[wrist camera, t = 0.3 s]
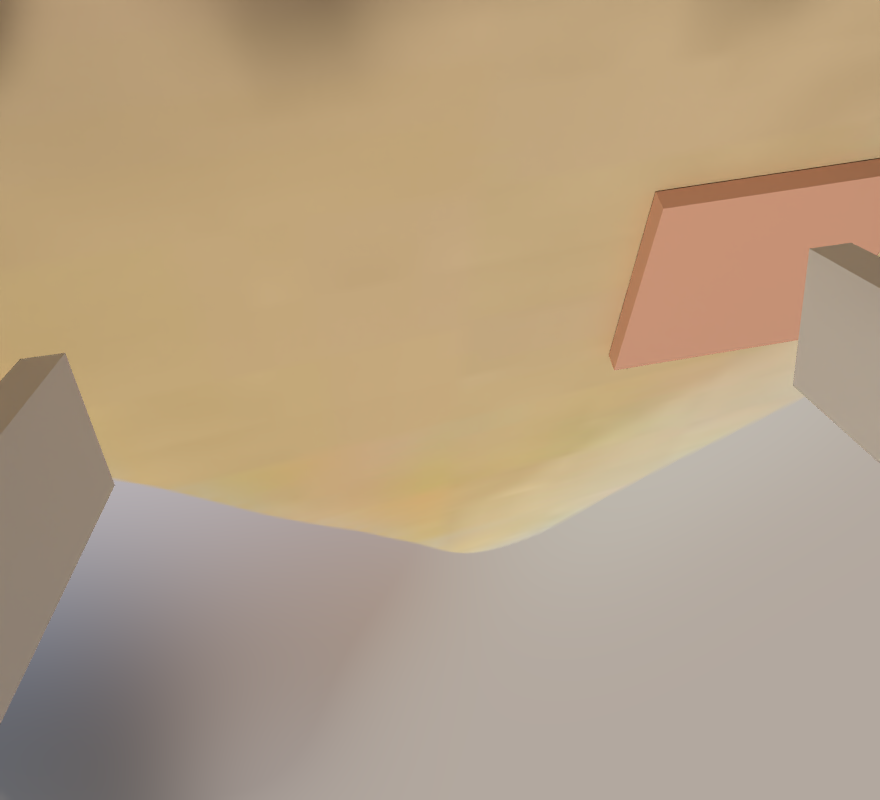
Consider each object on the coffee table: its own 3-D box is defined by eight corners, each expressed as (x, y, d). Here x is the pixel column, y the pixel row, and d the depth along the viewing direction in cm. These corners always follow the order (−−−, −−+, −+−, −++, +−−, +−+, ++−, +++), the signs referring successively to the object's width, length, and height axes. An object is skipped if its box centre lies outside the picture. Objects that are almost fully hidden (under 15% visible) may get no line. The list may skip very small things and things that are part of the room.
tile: (655, 191, 33) (663, 208, 32) (924, 151, 33) (936, 167, 33) (608, 355, 43) (614, 370, 42) (815, 321, 44) (823, 335, 43)
